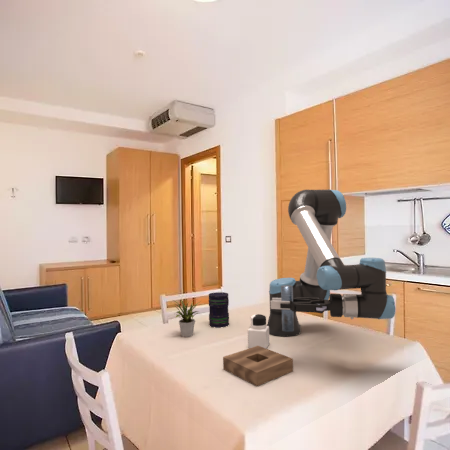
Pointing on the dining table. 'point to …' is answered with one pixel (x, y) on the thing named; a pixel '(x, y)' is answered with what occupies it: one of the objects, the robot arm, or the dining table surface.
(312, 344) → the dining table surface
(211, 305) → the storage jar
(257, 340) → the medicine bottle
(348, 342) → the dining table surface
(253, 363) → the socket block
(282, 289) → the pin
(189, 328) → the house plant
